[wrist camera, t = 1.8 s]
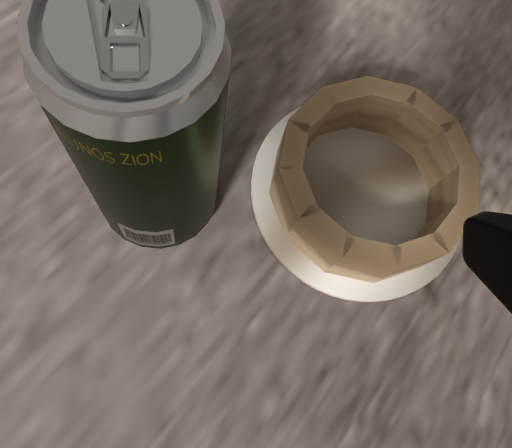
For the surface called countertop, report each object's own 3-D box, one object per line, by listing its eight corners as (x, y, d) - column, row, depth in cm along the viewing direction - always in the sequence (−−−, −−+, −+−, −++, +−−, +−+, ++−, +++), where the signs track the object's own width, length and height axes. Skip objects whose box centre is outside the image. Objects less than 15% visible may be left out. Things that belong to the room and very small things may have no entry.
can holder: (498, 191, 25) (543, 163, 22) (379, 351, 22) (411, 347, 19) (339, 64, 26) (359, 20, 23) (204, 197, 23) (205, 168, 20)
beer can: (219, 249, 22) (243, 119, 11) (102, 256, 22) (-2, 124, 10) (212, 146, 24) (226, -60, 13) (102, 149, 23) (13, -66, 12)
